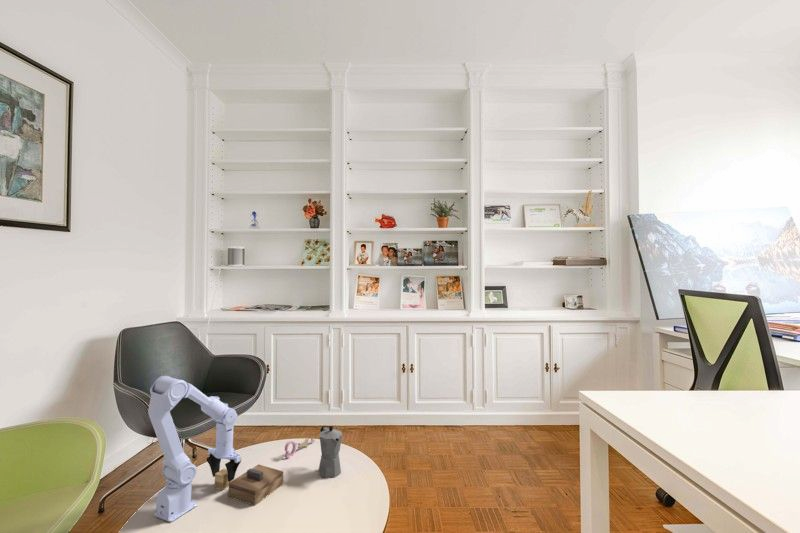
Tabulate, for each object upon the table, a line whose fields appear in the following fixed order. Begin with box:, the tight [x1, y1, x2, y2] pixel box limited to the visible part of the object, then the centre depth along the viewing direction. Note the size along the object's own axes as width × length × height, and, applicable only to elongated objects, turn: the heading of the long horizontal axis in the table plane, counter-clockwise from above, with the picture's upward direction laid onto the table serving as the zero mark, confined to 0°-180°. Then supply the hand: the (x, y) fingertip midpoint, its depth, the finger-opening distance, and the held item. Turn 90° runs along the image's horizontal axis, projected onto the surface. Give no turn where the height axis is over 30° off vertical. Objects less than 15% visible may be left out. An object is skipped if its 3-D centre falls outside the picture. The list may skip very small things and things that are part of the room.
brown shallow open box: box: [227, 474, 284, 506], centre depth 133 cm, size 14×12×3 cm
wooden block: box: [214, 468, 231, 491], centre depth 135 cm, size 4×4×5 cm
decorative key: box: [284, 437, 316, 459], centre depth 164 cm, size 7×1×20 cm
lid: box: [228, 464, 284, 494], centre depth 133 cm, size 14×12×4 cm
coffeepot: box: [318, 425, 343, 479], centre depth 147 cm, size 15×9×18 cm, turn 36°
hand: (223, 477), depth 135 cm, fingers open, 7 cm apart
